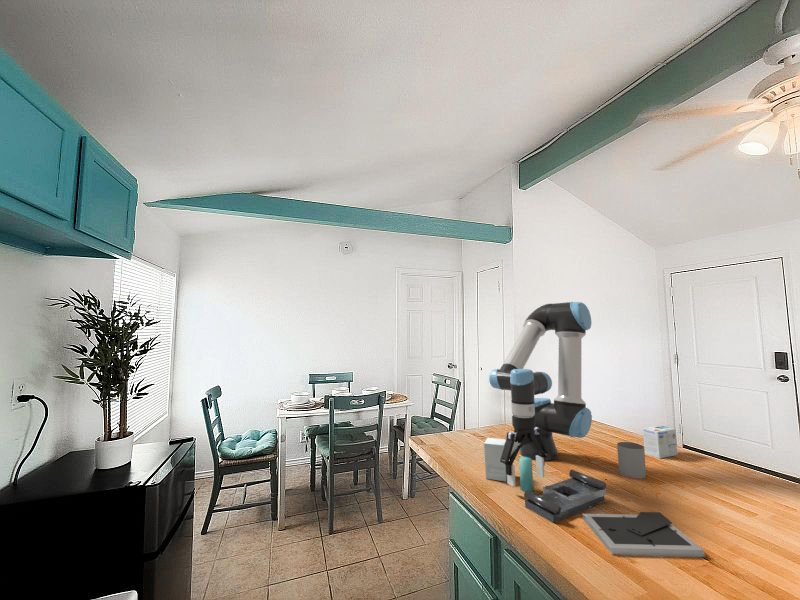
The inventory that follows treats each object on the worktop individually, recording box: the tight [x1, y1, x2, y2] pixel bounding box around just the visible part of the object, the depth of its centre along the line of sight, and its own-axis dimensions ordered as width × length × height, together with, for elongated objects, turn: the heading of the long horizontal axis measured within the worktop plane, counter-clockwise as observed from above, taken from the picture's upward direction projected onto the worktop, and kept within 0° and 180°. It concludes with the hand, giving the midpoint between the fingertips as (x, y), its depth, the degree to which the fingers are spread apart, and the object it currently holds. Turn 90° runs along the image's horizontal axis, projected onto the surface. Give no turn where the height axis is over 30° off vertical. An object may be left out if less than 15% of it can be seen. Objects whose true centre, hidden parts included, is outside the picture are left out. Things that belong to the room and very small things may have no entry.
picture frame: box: [582, 511, 706, 558], centre depth 91 cm, size 16×3×21 cm
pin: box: [518, 456, 534, 493], centre depth 118 cm, size 4×4×10 cm
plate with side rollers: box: [523, 469, 607, 524], centre depth 108 cm, size 11×24×6 cm, turn 118°
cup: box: [616, 441, 647, 479], centre depth 130 cm, size 8×8×10 cm
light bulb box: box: [642, 425, 678, 459], centre depth 148 cm, size 11×7×11 cm, turn 108°
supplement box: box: [483, 437, 507, 482], centre depth 130 cm, size 7×7×13 cm
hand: (526, 480), depth 118 cm, fingers open, 13 cm apart
